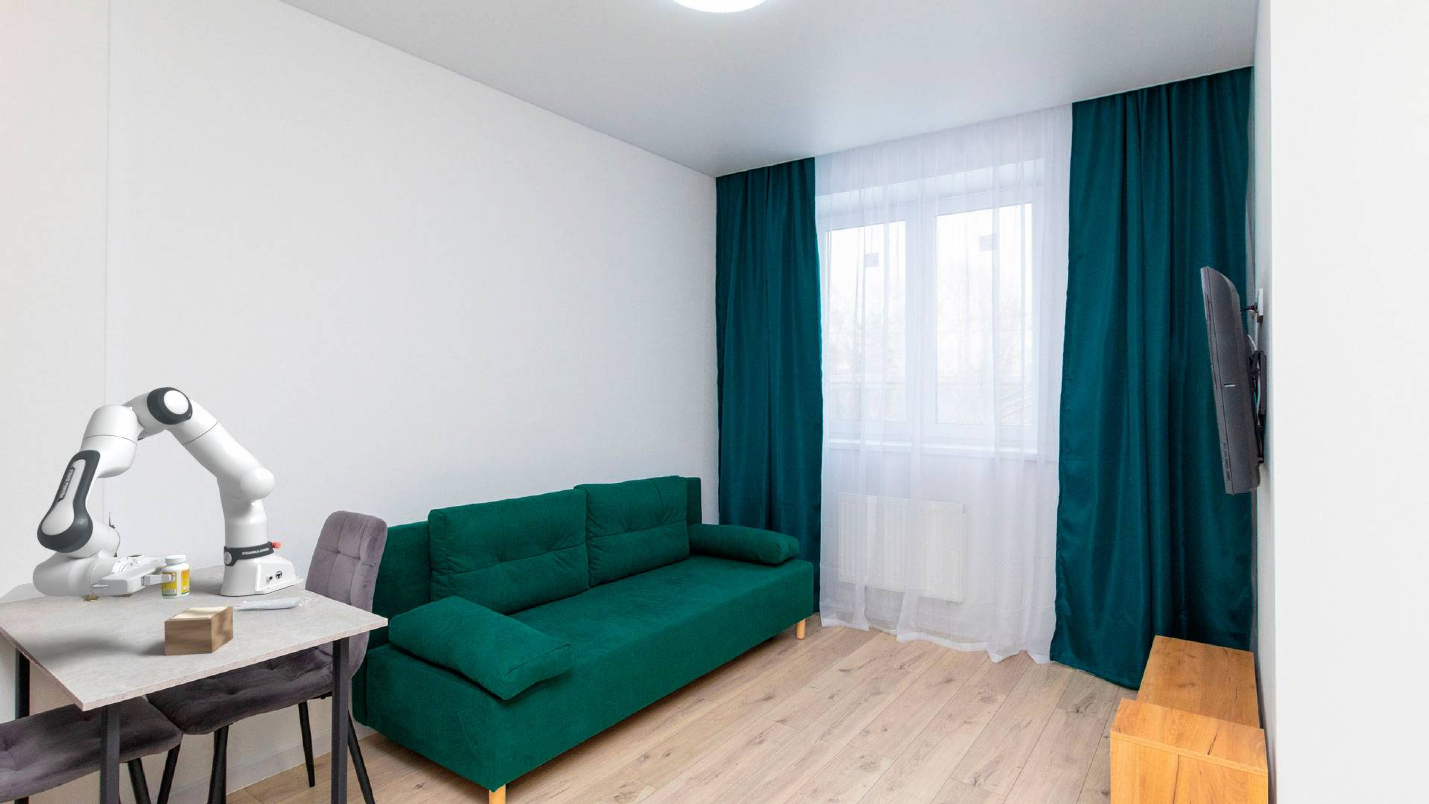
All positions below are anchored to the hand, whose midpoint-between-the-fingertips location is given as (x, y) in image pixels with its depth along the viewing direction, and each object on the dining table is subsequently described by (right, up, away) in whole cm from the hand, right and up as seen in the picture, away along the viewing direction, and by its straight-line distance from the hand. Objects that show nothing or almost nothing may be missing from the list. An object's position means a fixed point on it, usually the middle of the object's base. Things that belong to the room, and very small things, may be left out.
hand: (179, 574), depth 176 cm
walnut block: (+4, -18, +1) cm, 18 cm away
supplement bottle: (-1, -6, 0) cm, 6 cm away
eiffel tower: (-53, -17, +44) cm, 71 cm away
